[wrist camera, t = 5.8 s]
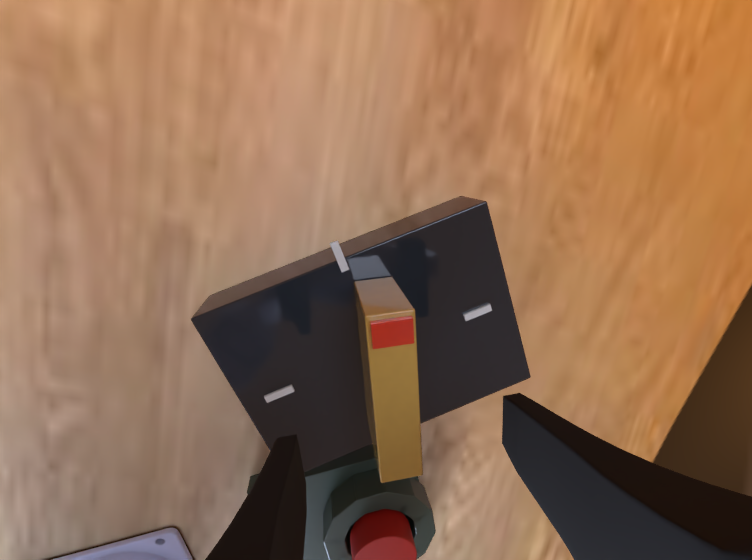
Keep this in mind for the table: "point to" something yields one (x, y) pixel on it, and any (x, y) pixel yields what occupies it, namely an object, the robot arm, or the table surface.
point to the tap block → (341, 335)
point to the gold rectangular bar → (390, 376)
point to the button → (382, 537)
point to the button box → (357, 504)
